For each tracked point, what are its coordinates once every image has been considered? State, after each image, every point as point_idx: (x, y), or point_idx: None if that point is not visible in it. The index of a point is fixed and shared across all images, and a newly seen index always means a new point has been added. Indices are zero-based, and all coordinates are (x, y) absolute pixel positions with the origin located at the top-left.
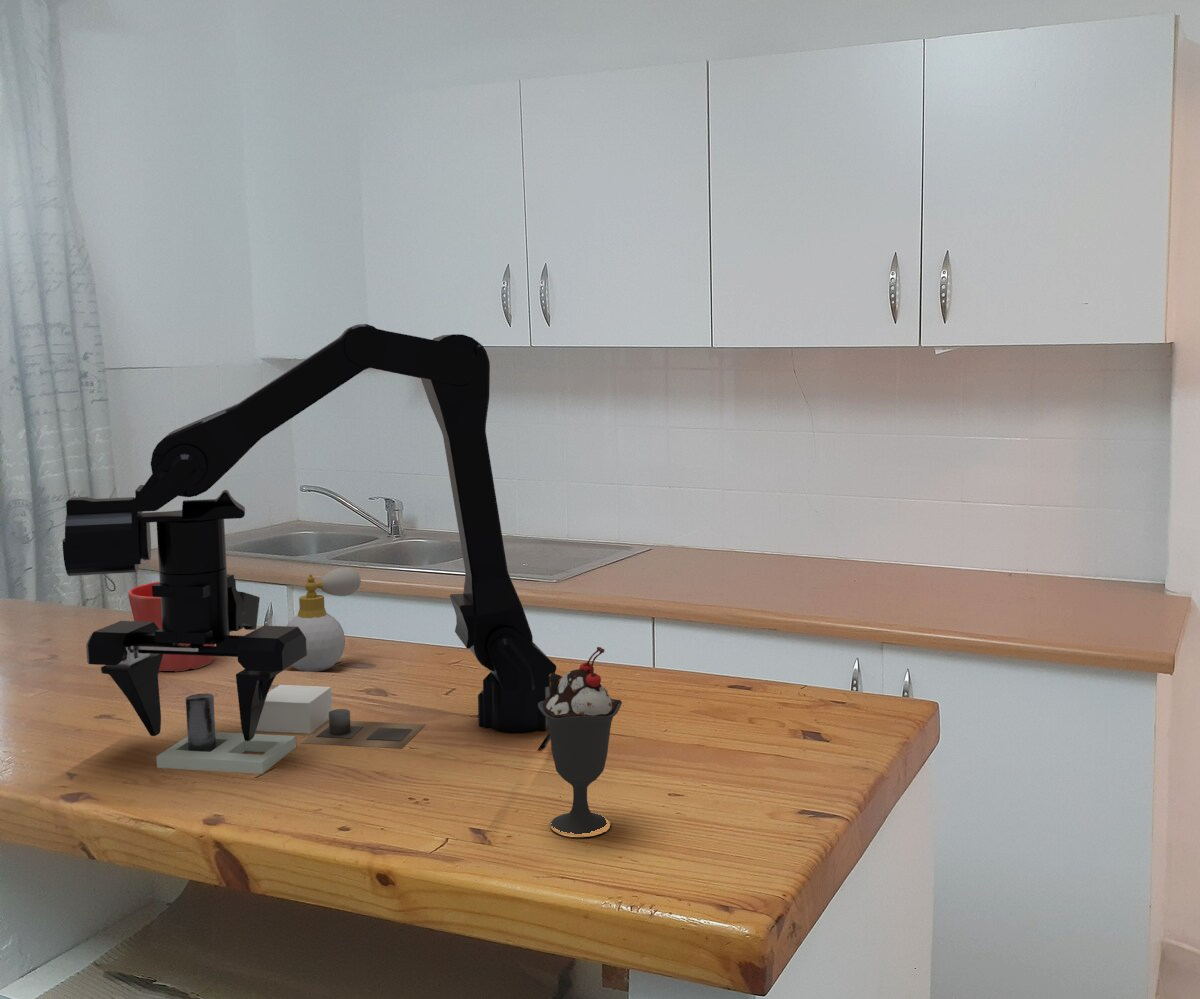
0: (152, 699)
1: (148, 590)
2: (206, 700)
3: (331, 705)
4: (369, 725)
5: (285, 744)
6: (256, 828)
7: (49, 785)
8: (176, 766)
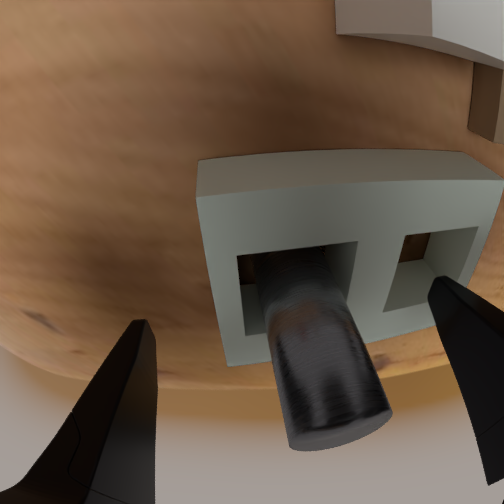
0: (132, 437)
1: None
2: (375, 429)
3: None
4: None
5: (487, 233)
6: (424, 357)
7: (56, 351)
8: None
